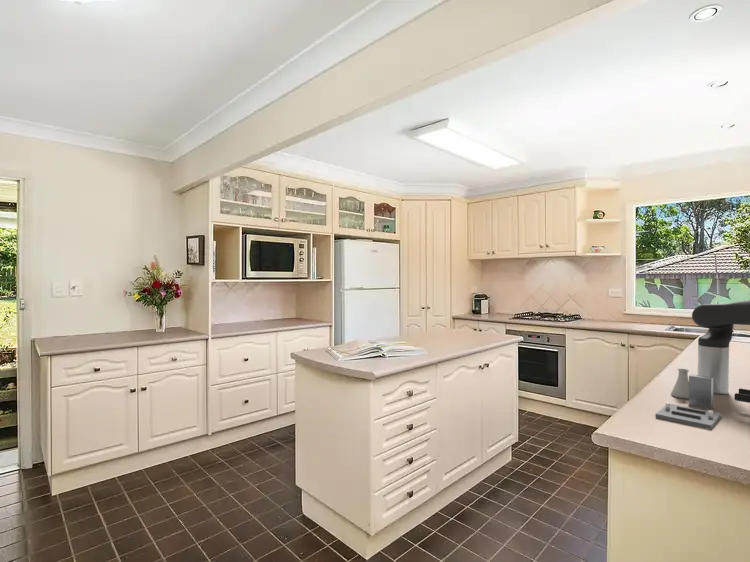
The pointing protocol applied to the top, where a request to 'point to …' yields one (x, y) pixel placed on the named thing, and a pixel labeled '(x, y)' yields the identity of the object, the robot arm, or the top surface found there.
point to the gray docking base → (689, 415)
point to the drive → (701, 391)
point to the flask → (681, 384)
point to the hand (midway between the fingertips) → (736, 394)
